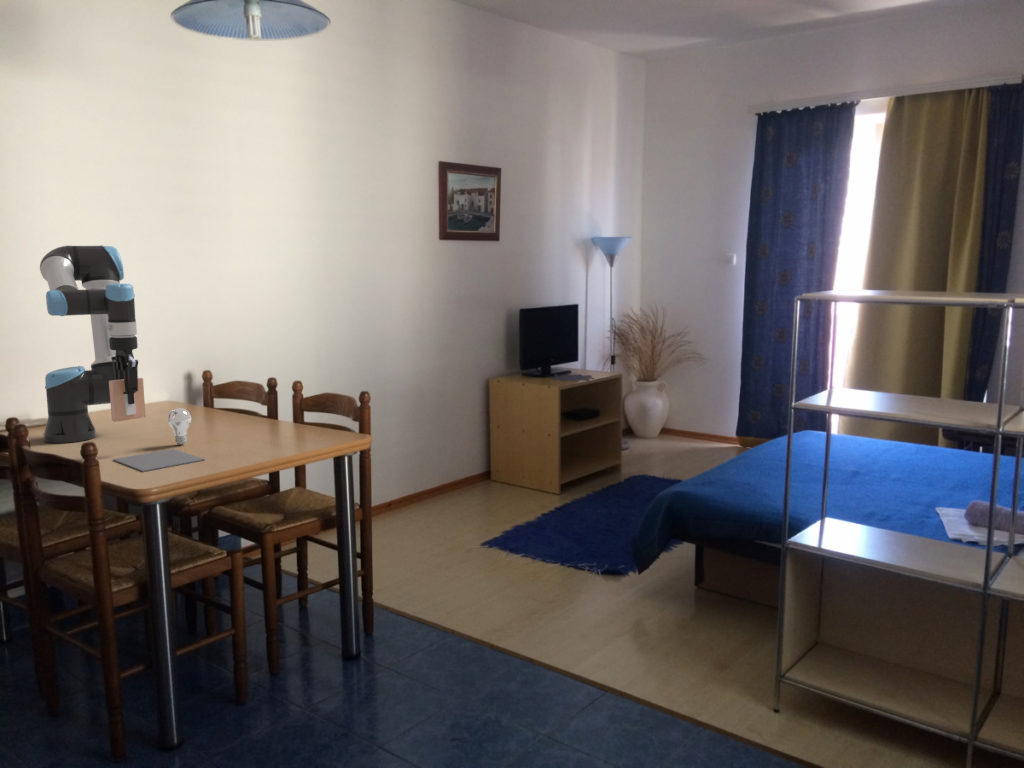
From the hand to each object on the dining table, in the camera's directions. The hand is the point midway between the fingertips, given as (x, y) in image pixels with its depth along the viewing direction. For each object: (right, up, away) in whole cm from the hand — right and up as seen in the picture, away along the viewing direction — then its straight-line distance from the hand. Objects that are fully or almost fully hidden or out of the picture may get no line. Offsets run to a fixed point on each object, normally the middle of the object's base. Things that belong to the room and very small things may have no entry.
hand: (128, 413), depth 247 cm
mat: (+12, -13, -6) cm, 19 cm away
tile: (0, -2, 0) cm, 2 cm away
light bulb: (+10, -11, +14) cm, 20 cm away
